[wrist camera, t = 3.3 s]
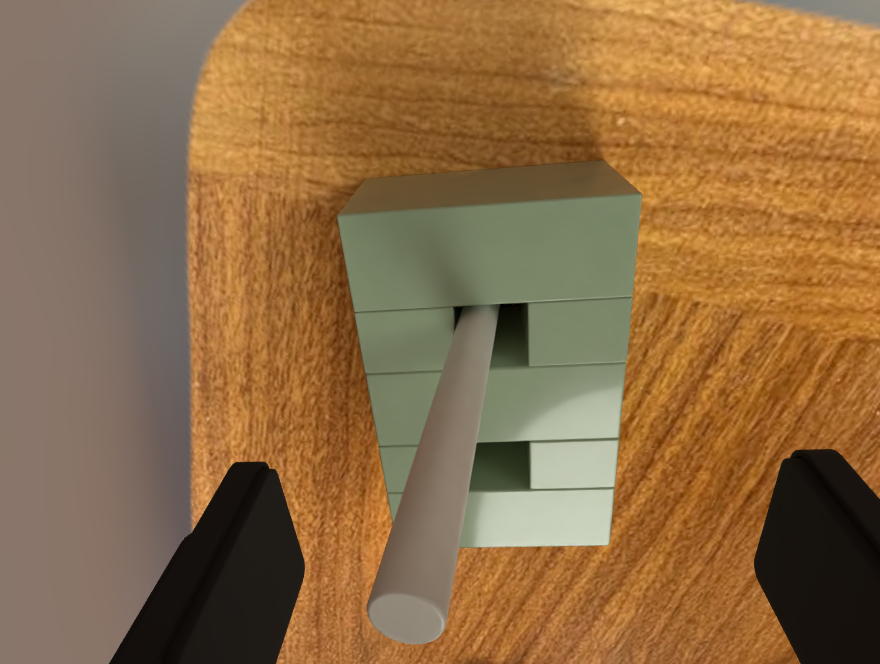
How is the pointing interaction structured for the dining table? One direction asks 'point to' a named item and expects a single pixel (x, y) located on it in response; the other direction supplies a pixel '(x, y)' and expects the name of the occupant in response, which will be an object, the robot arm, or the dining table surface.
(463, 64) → the dining table surface
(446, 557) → the grey cylindrical rod
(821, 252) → the dining table surface
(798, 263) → the dining table surface
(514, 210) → the pen holder
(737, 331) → the dining table surface
